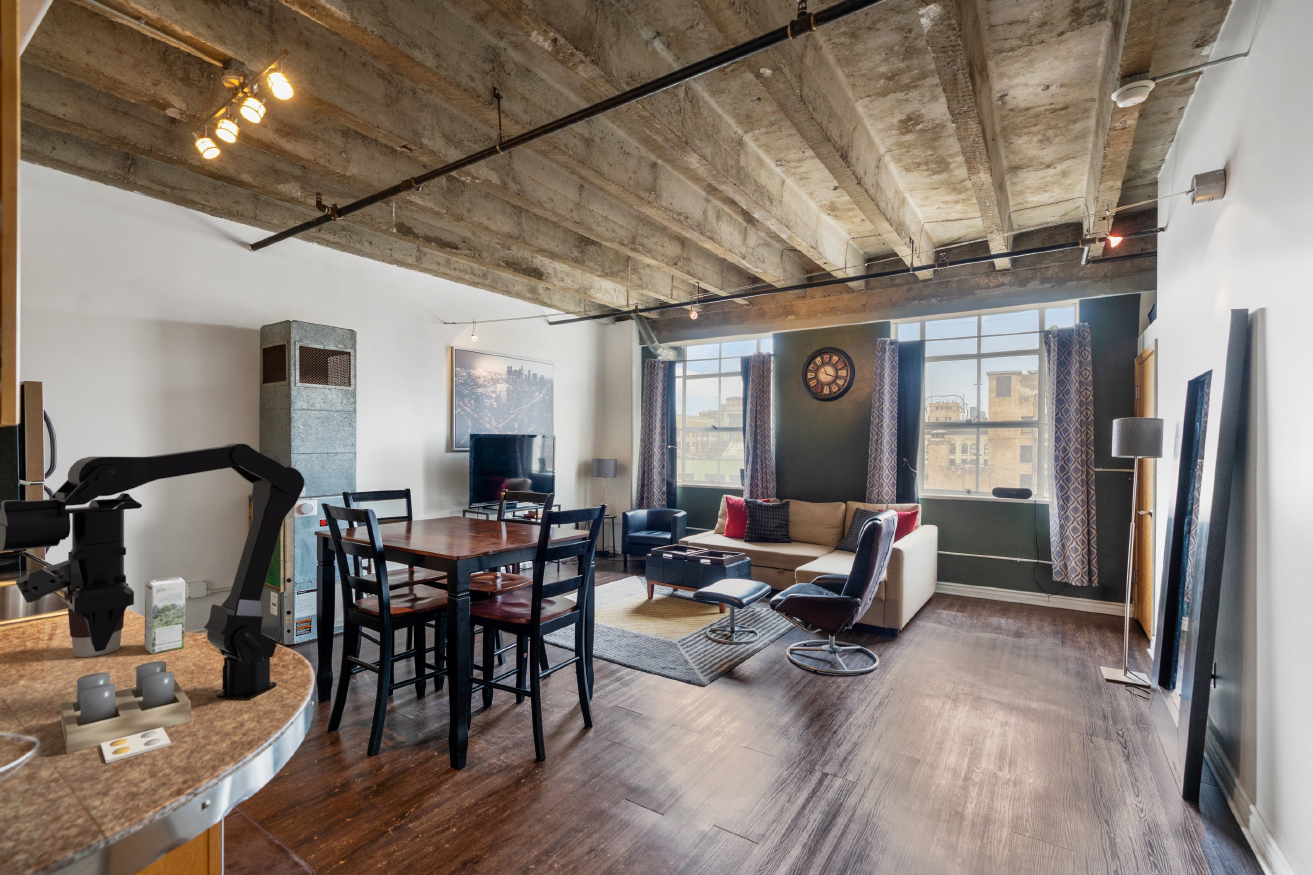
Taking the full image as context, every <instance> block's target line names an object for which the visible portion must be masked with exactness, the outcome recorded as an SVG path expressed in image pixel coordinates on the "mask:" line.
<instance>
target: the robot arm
mask: <svg viewBox="0 0 1313 875" xmlns="http://www.w3.org/2000/svg"><path fill="white" fill-rule="evenodd" d="M230 468H231V469H232V470H233V471H235V472H236V473H237V474H238V475H239V476H240V477H242V478H243V479H244V480H246V481H247V482H249V483H250V484H252V491H251V492H252V493H251V501H252V508H253V515H252V516H253V517H252V521H251V523H250V528H249V530H248V534H247V536H246V540H245V544H244V546H243V550H242V553H241V557H240V560H239V563H238V567H237V570H236V573H235V576H234V580H233V583H232V586H231V590H230V593H229V595H228V596H227V598H226V599H225V600H224V602H223V603H222V604H220V605H219V604H215V603H214V604H212V605H211V608H210V612H209V619H208V621H207V623H206V624H205V626H204V627H203V628H204V629H205V630H207V632H206V633H207V634H206V638H207V640H208V641H209V643H210V644H211V646H213V647H215V648H217V649H218V650H219V652H220V655H222V656H225V657H224V658H223V665H222V691H220V692H218V693H216V694H215V698H221V699H235V700H250V699H253V698H254V697H257V696H259V695H261V694H263V693H265V692H267V691H268V690H271V689H272V688H275V687H276V686H277V685H278V683H277V682H276V681H271V658H272V657H273V656H274V655H275V651H276V648H277V646H278V645H277V642H275V641H273V640H271V639H270V638H268V637H267V636H265V635H264V634H262V633H263V632H262V631H263V624H264V623H263V622H264V614H263V613H264V612H263V607H262V606H263V605H262V596H263V592H264V588H265V586H266V582H267V578H268V575H269V571H270V568H271V564H272V561H273V557H274V554H275V551H276V547H277V544H278V540H279V537H280V533H281V530H282V526H283V524H284V523H283V522H284V520H285V518H286V516H287V515H288V514H289V513H290V512H291V511H292V509H293V508H294V506H296V505H297V503H298V500H299V498H300V496H301V494H302V492H303V490H304V488H305V477H304V476H303V475H302V473H301V472H300V471H299V470H298V469H296V468H294V467H292V466H284V465H282V464H281V463H279V462H278V461H276V460H275V459H272V458H271V457H268V456H267V455H264V454H262V453H260V452H259V451H257V450H256V449H255V448H253V447H251V446H250V445H249V444H246V443H228V444H225V445H223V446H214V447H207V448H200V449H195V450H194V449H193V450H186V451H185V450H184V451H179V452H171V453H170V452H169V453H165V454H164V453H163V454H157V455H150V456H149V455H148V456H87V457H84V458H83V457H82V458H79V459H78V460H76V461H74V463H73V464H72V465H71V467H70V468H69V469H68V472H67V480H66V481H65V482H64V483H63V484H62V485H61V486H60V487H59V488H58V489H57V490H56V491H55V492H54V493H53V494H52V495H51V496H50V497H49V498H48V499H36V500H34V499H33V500H19V499H18V500H17V499H10V500H9V499H6V500H2V501H0V553H1V552H2V553H3V552H11V551H21V550H31V549H41V548H42V549H43V548H50V547H57V546H59V544H60V542H61V541H64V540H66V538H67V539H68V538H69V536H70V534H71V541H72V542H71V543H72V544H71V549H70V551H67V552H68V554H67V555H68V560H63V561H62V562H58V563H56V564H53V565H50V566H47V567H43V566H42V567H40V569H37V570H35V571H29V572H28V573H27V574H25V575H22V576H20V577H18V578H16V579H15V584H16V586H17V587H18V590H19V591H20V594H21V595H22V597H23V599H24V600H25V602H26V603H27V604H29V603H33V602H36V601H38V600H39V601H40V600H41V599H42V598H43V597H44V596H47V595H50V594H53V593H55V592H57V591H60V590H63V589H65V591H66V593H67V595H69V594H73V591H77V592H76V593H75V594H74V595H73V598H70V599H69V600H68V602H69V601H70V603H71V604H73V607H72V609H73V611H74V613H76V614H79V615H81V616H83V617H84V618H85V620H86V623H87V627H88V631H89V635H90V638H91V642H92V645H93V646H94V650H95V651H96V652H98V651H103V650H105V649H106V647H107V645H108V643H109V641H110V639H111V637H112V635H113V633H114V631H115V629H116V627H117V625H118V623H119V621H120V619H121V617H122V615H123V613H124V614H125V612H126V609H127V608H128V607H130V606H133V605H135V597H134V596H135V592H134V589H133V588H132V587H130V586H127V585H126V584H124V583H127V576H126V574H125V556H126V555H127V547H125V510H134V509H141V508H142V507H143V505H142V503H141V502H138V501H137V500H135V499H134V498H133V497H132V496H131V495H130V493H125V492H126V491H130V490H133V489H136V488H138V487H141V486H143V485H145V484H148V483H151V482H154V481H157V480H163V479H169V478H175V477H181V476H186V475H192V474H199V473H205V472H211V471H212V472H213V471H217V470H224V469H230ZM116 494H119V495H118V496H117V497H116V498H115V497H114V498H105V499H103V498H102V499H97V498H98V497H109V496H114V495H116ZM88 503H89V504H88ZM87 504H88V506H84V507H83V505H87ZM66 506H68V507H70V506H71V507H70V508H66ZM72 506H82V507H72ZM71 515H72V516H71ZM70 517H72V518H70ZM71 520H72V521H71ZM71 522H72V526H71ZM71 527H72V528H71ZM71 529H72V531H71ZM70 532H72V533H70ZM270 688H271V689H270ZM266 690H267V691H266ZM260 693H261V694H260Z"/></svg>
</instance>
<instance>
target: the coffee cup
mask: <svg viewBox="0 0 1313 875" xmlns="http://www.w3.org/2000/svg"><path fill="white" fill-rule="evenodd" d="M124 584H126V585H127V586H129V583H127V582H126V583H124ZM129 587H130V586H129ZM76 592H77V591H73V594H69V595H67V593H66V590H65V591H64V600H66V601H68V608H67V614H68V615H67V616H68V625H69V627H68V628H69V635H70V637H71V643H72V655H73V656H74V657H76V658H92V657H98V656H103V655H107V654H110V653H113V652H115V651H118V650H119V649H120V647H121V641H122V630H123V628H124V622H125V621H124V620H125V612H124V613H123V615H122V617H121V619H120V621H119V623H118V625H117V627H116V629H115V631H114V633H113V635H112V637H111V639H110V641H109V643H108V645H107V647H106V649H105V650H103V651H98V652H96V651H95V650H94V646H93V645H92V642H91V638H90V635H89V631H88V627H87V623H86V620H85V618H84V617H83V616H81V615H79V614H76V613H74V611H73V609H72V607H73V604H71V603H70V601H69V599H70V598H73V595H74V594H75V593H76Z"/></svg>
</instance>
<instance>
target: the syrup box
mask: <svg viewBox="0 0 1313 875" xmlns="http://www.w3.org/2000/svg"><path fill="white" fill-rule="evenodd" d="M144 582H145V583H144V649H145V651H146V652H148V653H150V654H152V655H153V654H160V653H164V652H169V651H170V652H171V651H173V650H178V649H183V648H185V646H186V645H185V644H186V642H185V641H186V580H184V578H182V577H180V576H174V577H165V578H159V579H152V580H146V581H144ZM181 634H185V635H181Z"/></svg>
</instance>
